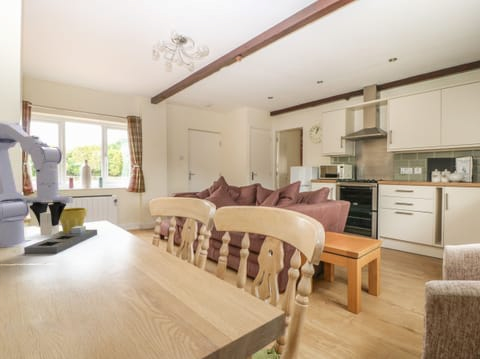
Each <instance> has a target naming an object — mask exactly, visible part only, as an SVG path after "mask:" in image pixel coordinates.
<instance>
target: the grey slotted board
mask: <svg viewBox="0 0 480 359" xmlns="http://www.w3.org/2000/svg"><path fill="white" fill-rule="evenodd" d="M97 235H98V229H86V232H84V233H81V234H71V230H70V231H67V232H63V233H60V234H59V233H58V234H57V235H53V236H51V237H49V238H46V239H44V240H41V241H39V242H38V241H37V242H35V243H33V244H30V245H27V246H25V247H23V252H24V253H23V254H24V255H50V254H51V255H53V254H54V255H55V254H57V255H58V254H59V253H61V252H63V251H66V250H68V249H70V248H72V247H74V246H76V245H79V244H81V243H83V242H85V241H87V240H88V239H89V240H90V239H91V238H93V237H95V236H97Z"/></svg>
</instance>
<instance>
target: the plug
mask: <svg viewBox="0 0 480 359" xmlns="http://www.w3.org/2000/svg"><path fill="white" fill-rule="evenodd" d="M39 227H40V228H39V229H40V236H54V235H55V234H59V233H60V224H58V225H56V226H52V222H51V213H50V211H47V212H45V213H40V226H39Z"/></svg>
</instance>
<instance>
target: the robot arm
mask: <svg viewBox="0 0 480 359" xmlns="http://www.w3.org/2000/svg"><path fill="white" fill-rule="evenodd" d="M18 143H19V146H20V149H21V150H23V151H24V152H25V153H27V154H28V155H30V159H31V162H32V164H33V169H34V170H35V174H36V175H35V177H36V179H35V180H36V183H35V184H36V196H28V197H27V196H25V195H24V194H22V193H20V192H18V191H17V188H16V187H17V186H16V182H15V178H14V172H13V168H12V163H11V160H10V154H9V149H11V148H15V147H16V145H17V144H18ZM62 160H63V155H62V151H61V149H60V148H59V147H58V146H50V145H48V143H47V142H44V141H43V140H42V139H40V136H38V135H33V134H32V135H29V133H28V132H26V131H25V130H24V127H23V125H21V124H20V123H18V122H9V121H2V120H0V248H14V247H17V246H20V245H23V244H26V243H28V242H31V239H30V240H29V239H25V221H24V220H25V219H27V217H28V216H29V214H30V211H32V212H33V214H34V215H35V218H36V220H37V223H38V225H39V227H40V213H45V212H48V210H49V212H50V213H51V222H52V226H56V225H58V224H59V223H60V217H61V214H62V212H63V210H64V209H66V208H65V207H66V206H67V204H73V199H74V198H73V196H60V195H59V192H60V190H59V167H58V165H59V164H60V163H61V162H62ZM30 204H31V205H30ZM59 225H60V224H59Z"/></svg>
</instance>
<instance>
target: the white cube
mask: <svg viewBox="0 0 480 359" xmlns="http://www.w3.org/2000/svg"><path fill="white" fill-rule="evenodd" d="M86 230H87V229H86V225H83V226H75V227H73V228H71V234H81V233H84V232H86Z"/></svg>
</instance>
